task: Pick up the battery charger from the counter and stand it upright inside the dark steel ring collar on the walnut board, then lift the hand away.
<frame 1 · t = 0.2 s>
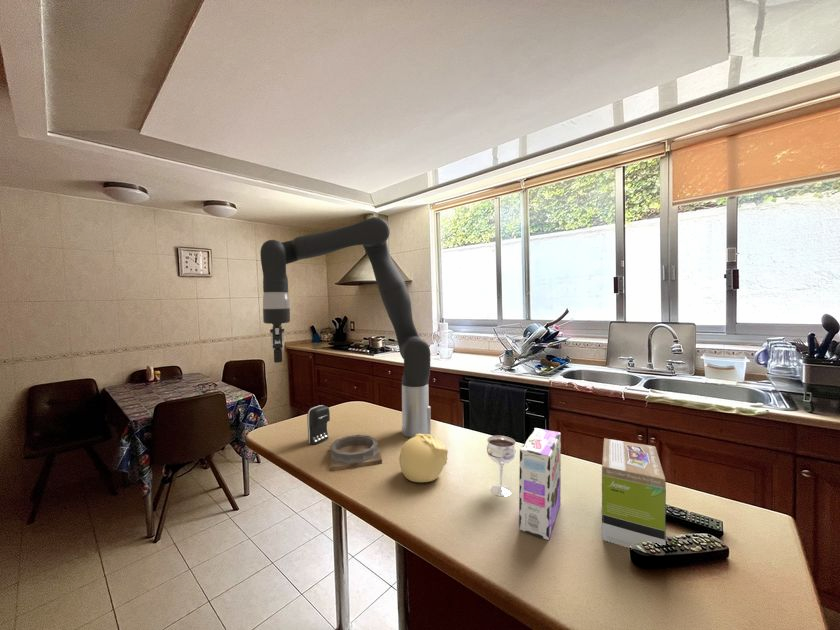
hand: (278, 360, 100), 28 cm above the counter, tool pointing down, fingers open, 8 cm apart
wineglass: (501, 491, 79), on the counter
battery charger: (319, 441, 108), on the counter
sculpture: (422, 476, 86), on the counter
ring collar: (354, 455, 97), on the counter
candy box: (541, 517, 69), on the counter
tea box: (630, 527, 66), on the counter
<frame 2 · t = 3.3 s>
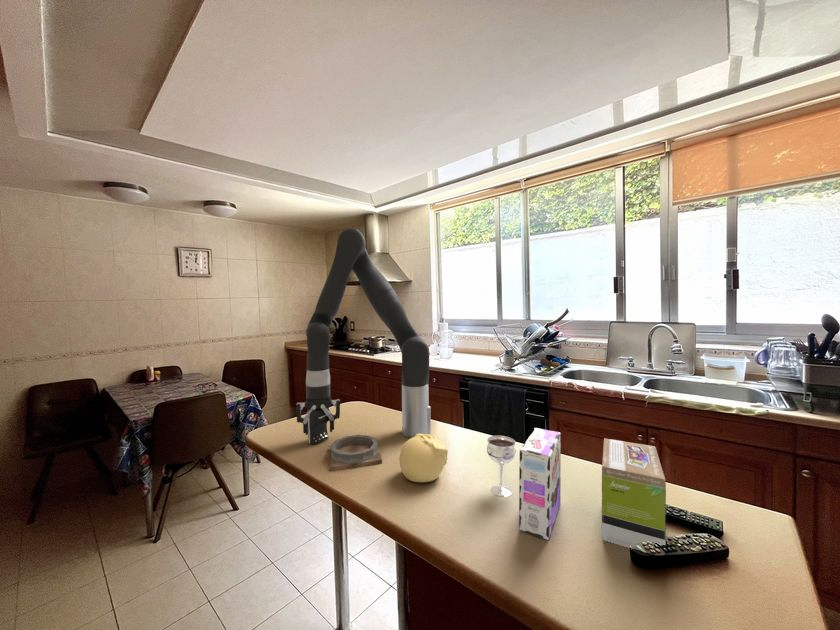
hand: (318, 432, 108), 3 cm above the counter, tool pointing down, fingers closed on battery charger, 7 cm apart
battery charger: (319, 441, 108), on the counter, touching gripper
everything else where it was.
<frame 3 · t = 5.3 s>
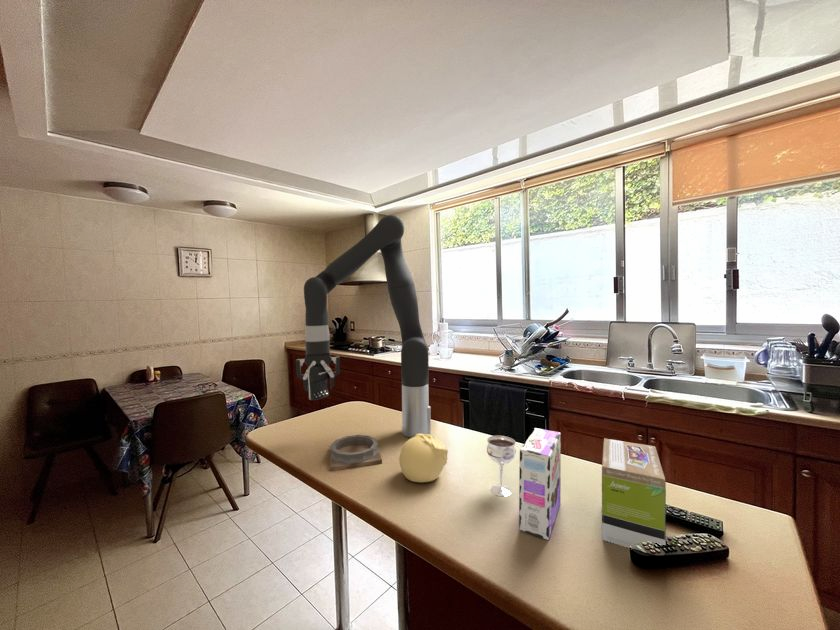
hand: (319, 389, 107), 17 cm above the counter, tool pointing down, fingers closed on battery charger, 7 cm apart
battery charger: (320, 398, 107), point 14 cm above the counter, touching gripper
everything else where it was.
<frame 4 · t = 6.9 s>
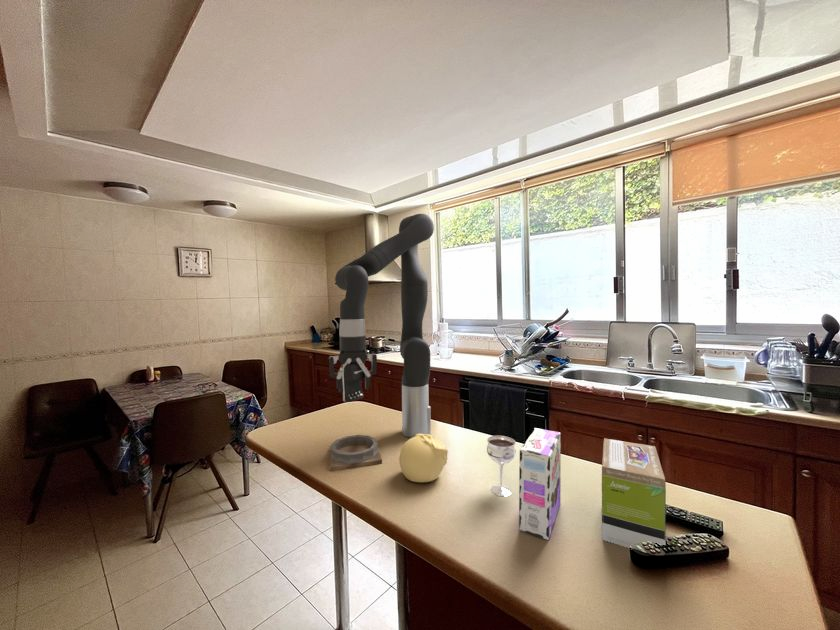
hand: (353, 390, 97), 20 cm above the counter, tool pointing down, fingers closed on battery charger, 7 cm apart
battery charger: (354, 400, 97), point 17 cm above the counter, touching gripper
everything else where it was.
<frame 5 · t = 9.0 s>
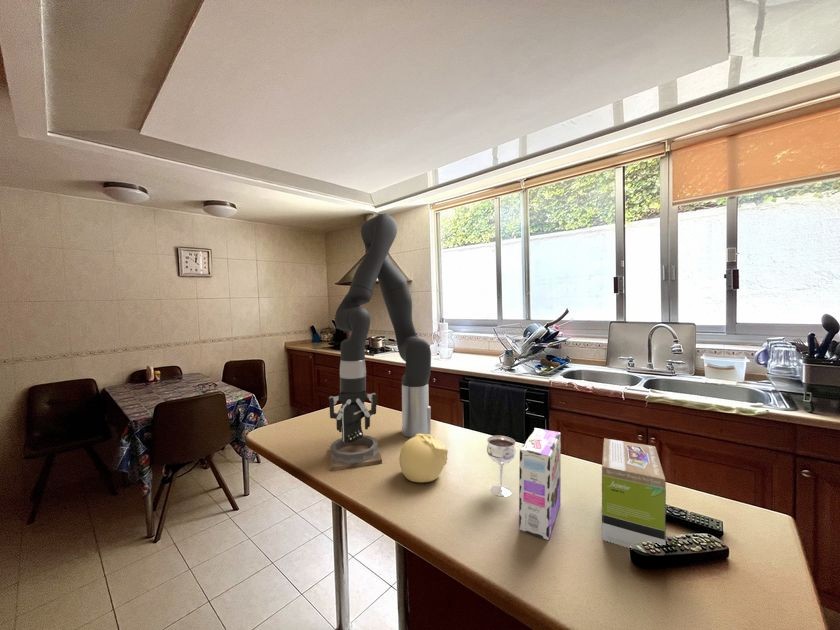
hand: (353, 429, 97), 8 cm above the counter, tool pointing down, fingers closed on battery charger, 7 cm apart
battery charger: (354, 440, 97), point 5 cm above the counter, touching gripper
everything else where it was.
when the fingers open (5 cm above the counter, at t = 10.7 s): battery charger stays where it is, resting on ring collar.
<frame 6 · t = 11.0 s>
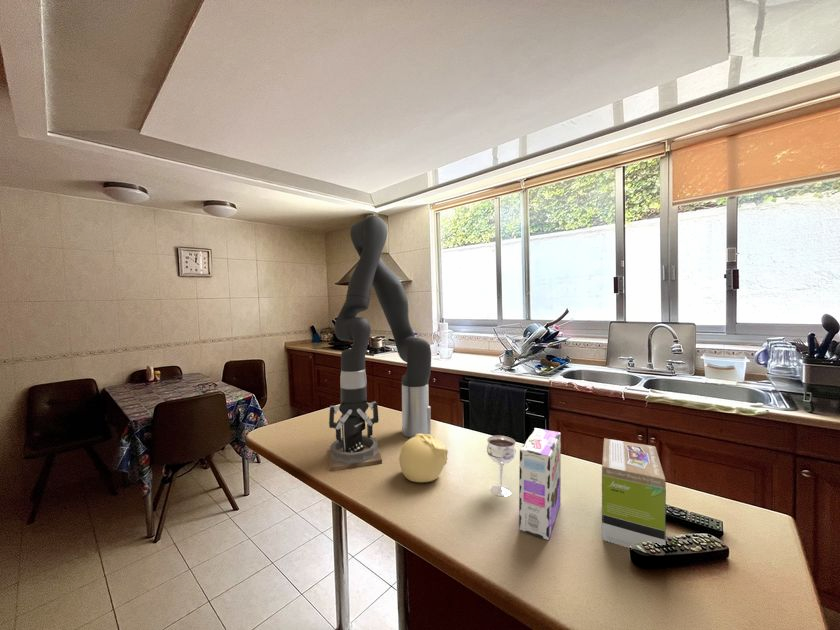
hand: (354, 438, 97), 5 cm above the counter, tool pointing down, fingers open, 8 cm apart
battery charger: (355, 452, 97), point 1 cm above the counter, touching ring collar
everything else where it was.
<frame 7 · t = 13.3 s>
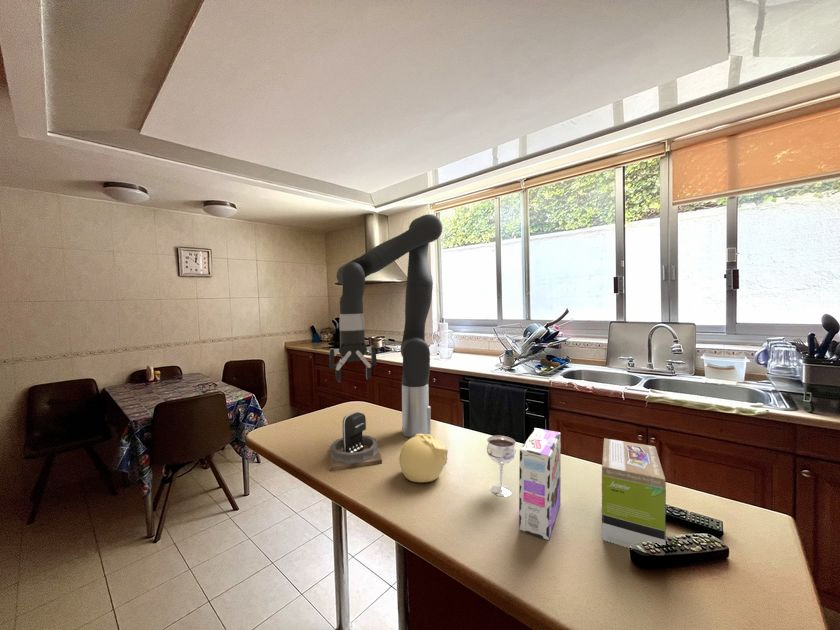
hand: (353, 380, 101), 21 cm above the counter, tool pointing down, fingers open, 8 cm apart
nothing on the counter moved.
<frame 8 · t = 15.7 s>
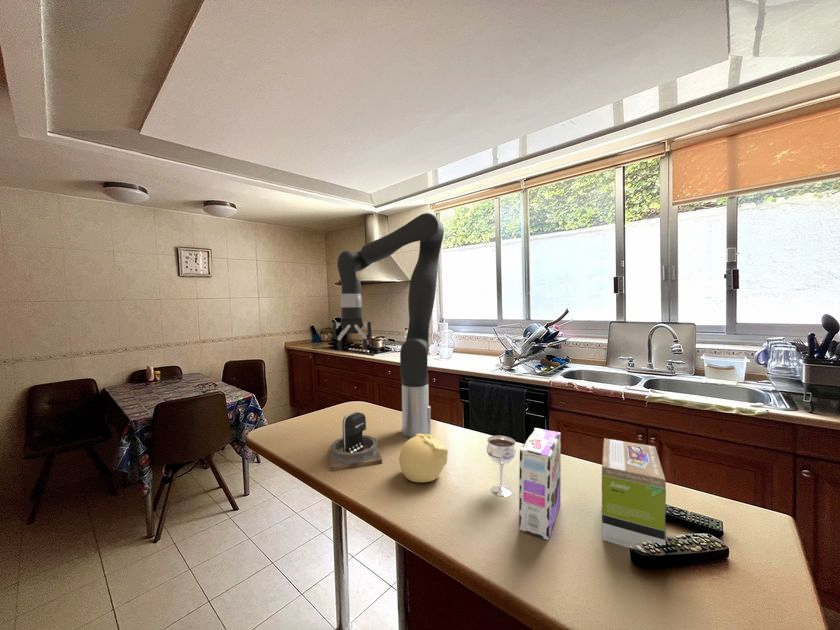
hand: (352, 349, 122), 28 cm above the counter, tool pointing down, fingers open, 8 cm apart
nothing on the counter moved.
at the end: battery charger 0.3 cm off-centre on the ring collar, point 0.8 cm above the ring collar's base; battery charger tilted 0°; the gripper is holding nothing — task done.
